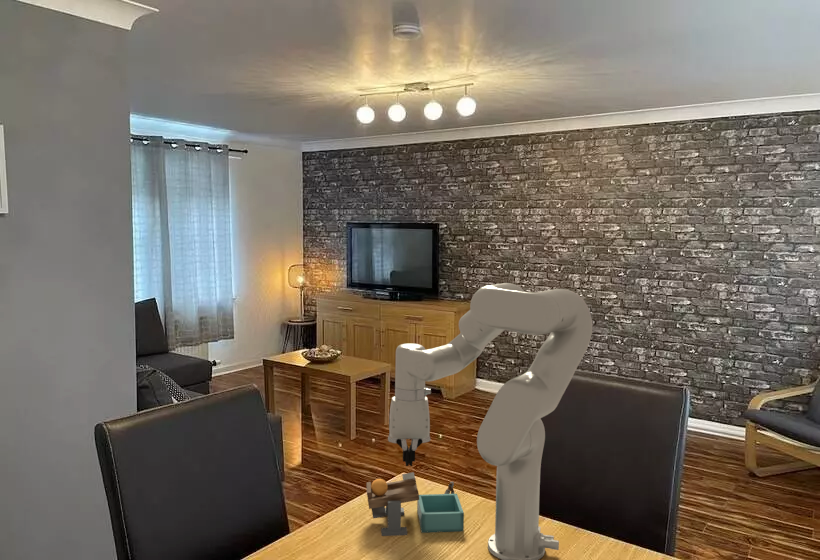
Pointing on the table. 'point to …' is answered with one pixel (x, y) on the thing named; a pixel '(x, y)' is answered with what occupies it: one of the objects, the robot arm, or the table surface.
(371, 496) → the lever
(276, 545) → the table surface
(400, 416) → the robot arm
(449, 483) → the wooden post with brackets
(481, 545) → the table surface
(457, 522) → the teal open box
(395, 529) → the lever stand
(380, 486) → the ball
